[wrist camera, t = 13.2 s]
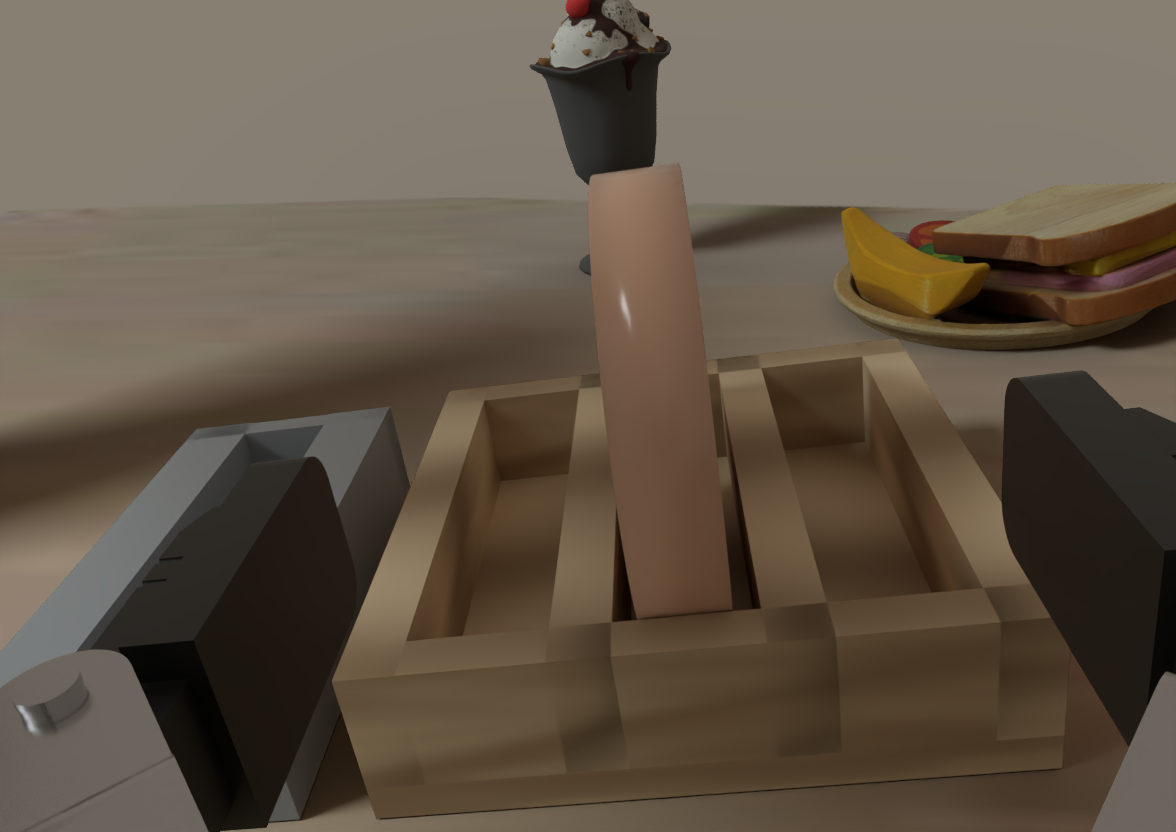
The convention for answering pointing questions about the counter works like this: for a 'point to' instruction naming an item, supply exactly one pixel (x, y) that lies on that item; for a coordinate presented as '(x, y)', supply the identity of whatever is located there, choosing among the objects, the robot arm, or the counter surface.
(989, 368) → the counter surface
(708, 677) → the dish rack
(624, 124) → the sundae
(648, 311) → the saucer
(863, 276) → the toy sandwich meal
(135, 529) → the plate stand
